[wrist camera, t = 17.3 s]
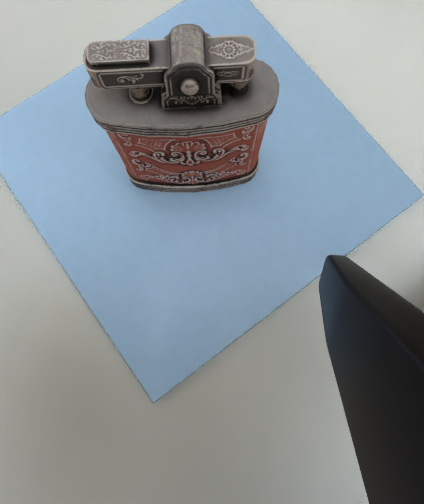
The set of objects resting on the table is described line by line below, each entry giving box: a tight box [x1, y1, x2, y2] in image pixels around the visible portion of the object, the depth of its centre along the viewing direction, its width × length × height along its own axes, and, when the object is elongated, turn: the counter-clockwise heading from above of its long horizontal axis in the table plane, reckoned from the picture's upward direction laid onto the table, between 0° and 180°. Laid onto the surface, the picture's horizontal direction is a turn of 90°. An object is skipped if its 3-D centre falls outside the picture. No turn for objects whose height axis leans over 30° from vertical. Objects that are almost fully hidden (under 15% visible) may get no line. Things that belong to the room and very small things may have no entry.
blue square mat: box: [0, 0, 424, 403], centre depth 22 cm, size 20×20×1 cm
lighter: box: [83, 24, 279, 193], centre depth 17 cm, size 8×3×10 cm, turn 93°
